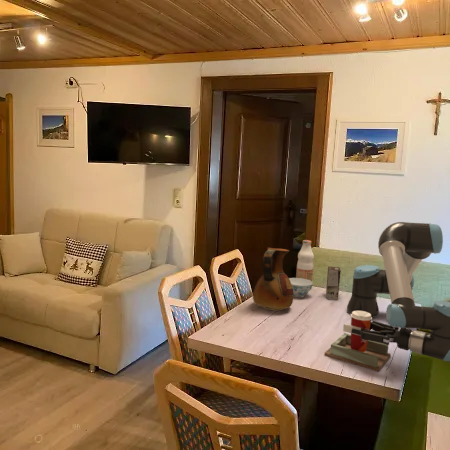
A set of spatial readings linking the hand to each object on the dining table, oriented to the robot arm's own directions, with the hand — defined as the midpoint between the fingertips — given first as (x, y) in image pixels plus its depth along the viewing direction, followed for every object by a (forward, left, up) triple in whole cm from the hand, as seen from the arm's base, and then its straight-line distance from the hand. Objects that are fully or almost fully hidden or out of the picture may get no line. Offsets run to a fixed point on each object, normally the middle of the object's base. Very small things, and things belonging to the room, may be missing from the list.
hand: (347, 324), depth 166 cm
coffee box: (-24, -68, -11) cm, 73 cm away
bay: (-3, +3, -11) cm, 12 cm away
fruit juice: (-14, -85, -11) cm, 87 cm away
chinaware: (-6, -72, -11) cm, 73 cm away
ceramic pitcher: (+14, -52, -11) cm, 55 cm away
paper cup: (-3, +3, -9) cm, 10 cm away
